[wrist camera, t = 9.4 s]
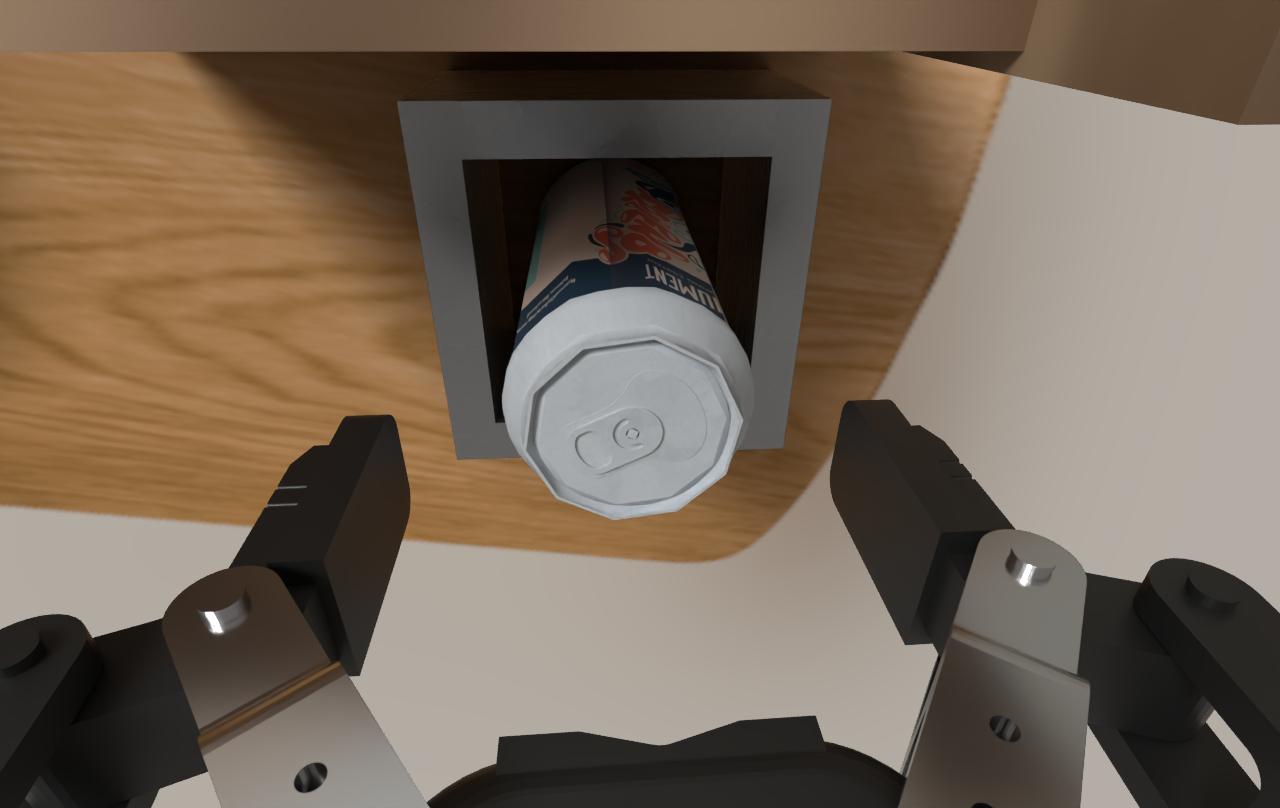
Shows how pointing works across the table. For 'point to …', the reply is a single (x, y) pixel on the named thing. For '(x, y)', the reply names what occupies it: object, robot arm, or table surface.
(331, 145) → the table surface
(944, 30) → the headboard panel
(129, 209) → the table surface
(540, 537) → the table surface
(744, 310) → the post bracket
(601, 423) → the beer can
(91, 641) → the robot arm
